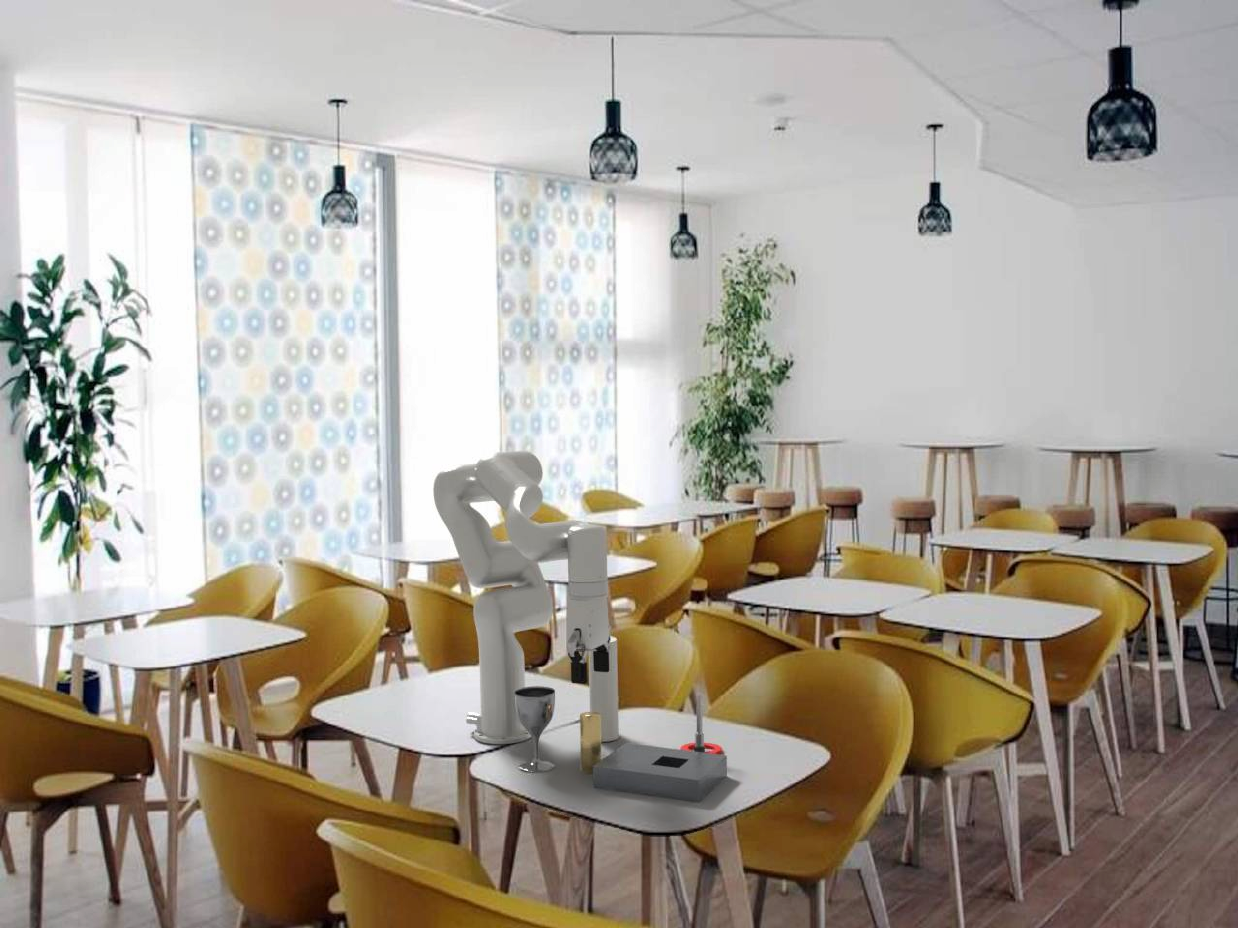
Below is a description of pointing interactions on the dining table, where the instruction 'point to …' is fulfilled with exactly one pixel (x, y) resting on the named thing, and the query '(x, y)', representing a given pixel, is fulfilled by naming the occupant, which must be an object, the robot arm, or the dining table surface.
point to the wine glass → (535, 719)
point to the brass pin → (590, 740)
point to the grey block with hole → (660, 772)
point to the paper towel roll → (605, 694)
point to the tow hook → (701, 736)
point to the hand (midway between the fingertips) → (590, 677)
